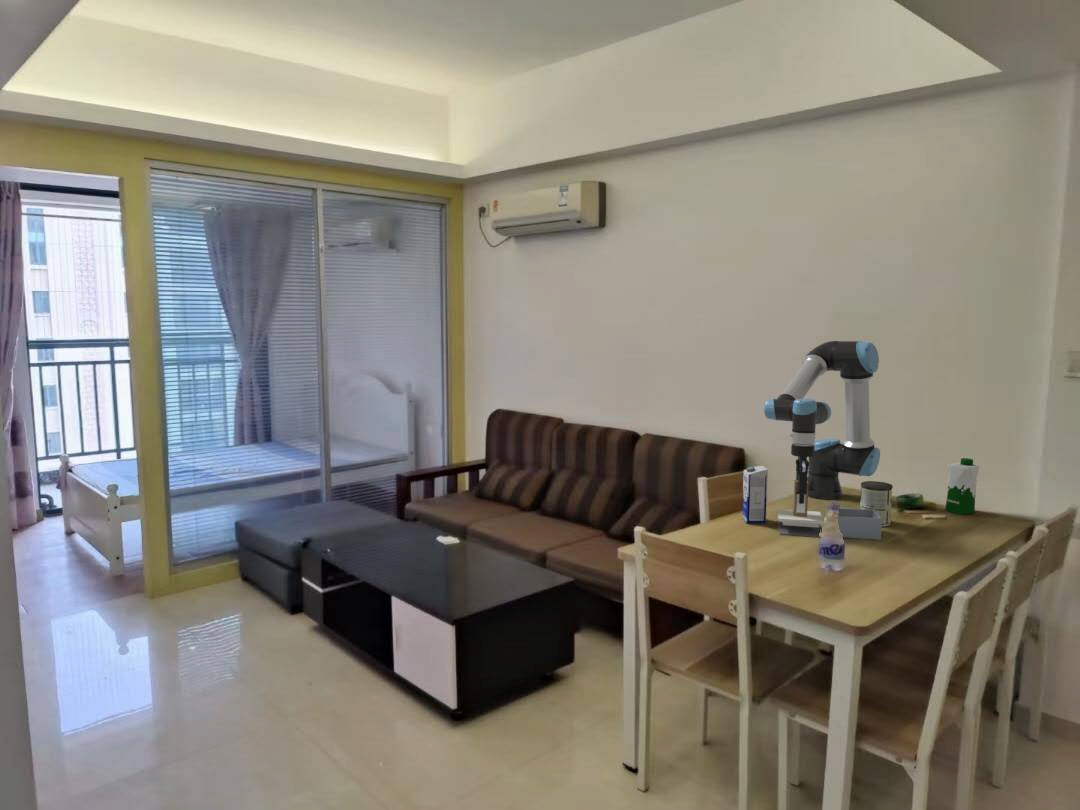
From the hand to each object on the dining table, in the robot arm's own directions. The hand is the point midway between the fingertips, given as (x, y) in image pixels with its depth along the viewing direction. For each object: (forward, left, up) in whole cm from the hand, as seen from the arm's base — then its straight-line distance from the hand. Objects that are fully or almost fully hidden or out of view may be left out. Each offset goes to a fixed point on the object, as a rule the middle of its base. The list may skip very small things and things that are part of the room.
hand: (800, 510), depth 254 cm
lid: (0, 0, -4) cm, 4 cm away
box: (0, +18, -7) cm, 19 cm away
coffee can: (-15, +27, -7) cm, 32 cm away
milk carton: (-7, -15, -7) cm, 18 cm away
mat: (0, 0, -7) cm, 7 cm away
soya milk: (-38, +61, -7) cm, 72 cm away
